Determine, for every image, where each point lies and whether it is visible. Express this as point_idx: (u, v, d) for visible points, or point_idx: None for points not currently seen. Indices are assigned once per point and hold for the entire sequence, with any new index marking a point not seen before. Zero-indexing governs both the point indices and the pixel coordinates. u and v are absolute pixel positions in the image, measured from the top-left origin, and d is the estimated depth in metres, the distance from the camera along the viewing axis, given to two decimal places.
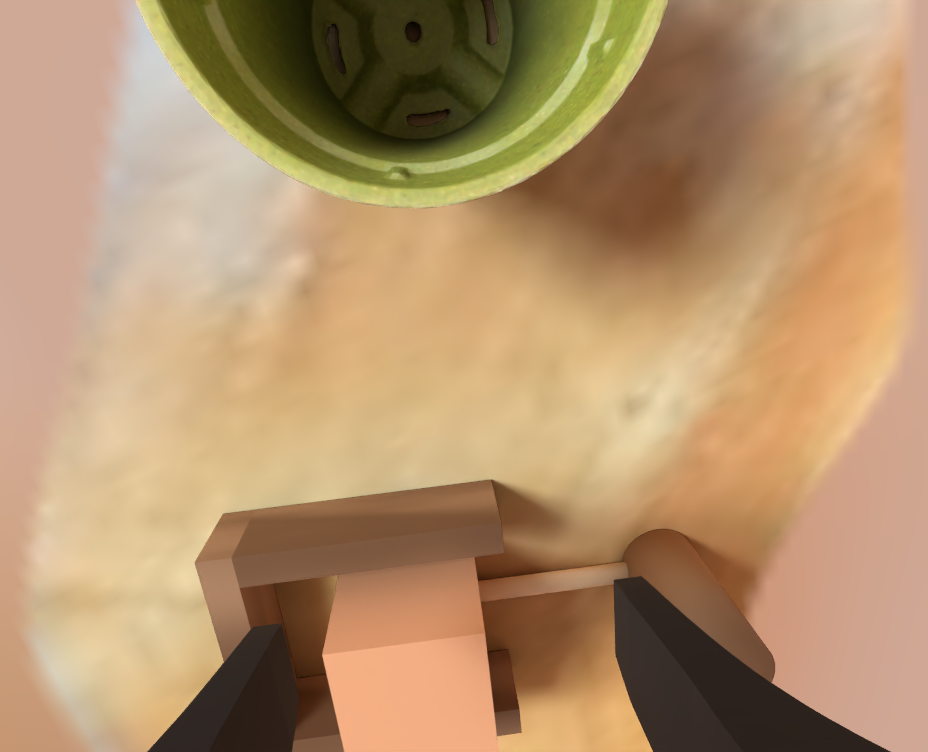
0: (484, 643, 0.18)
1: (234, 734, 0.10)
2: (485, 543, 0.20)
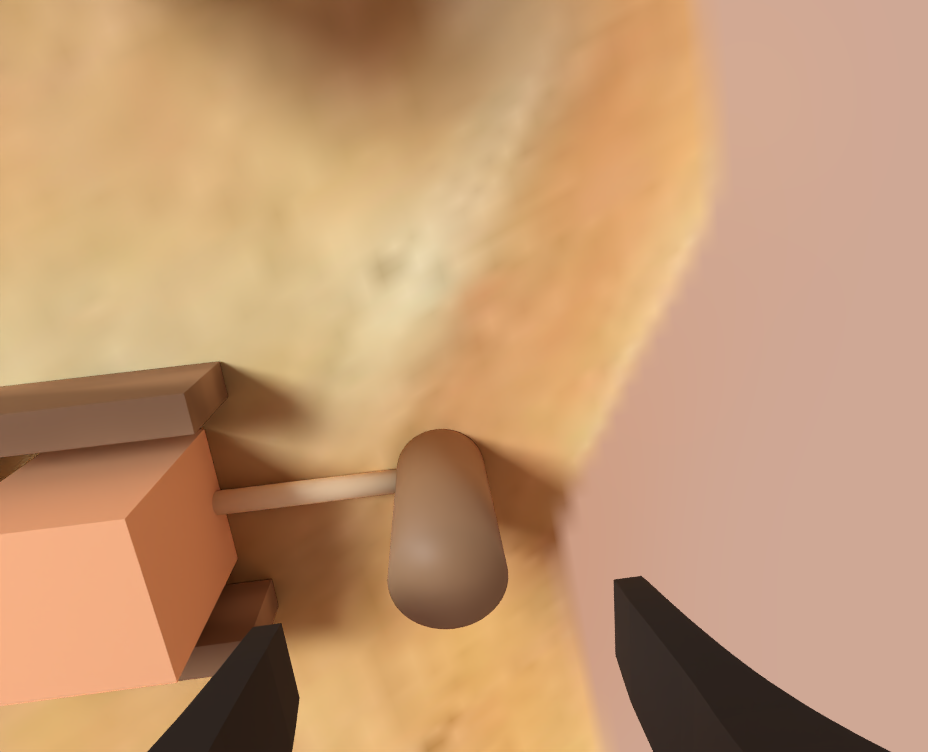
0: (127, 533, 0.14)
1: (234, 733, 0.10)
2: (167, 420, 0.16)
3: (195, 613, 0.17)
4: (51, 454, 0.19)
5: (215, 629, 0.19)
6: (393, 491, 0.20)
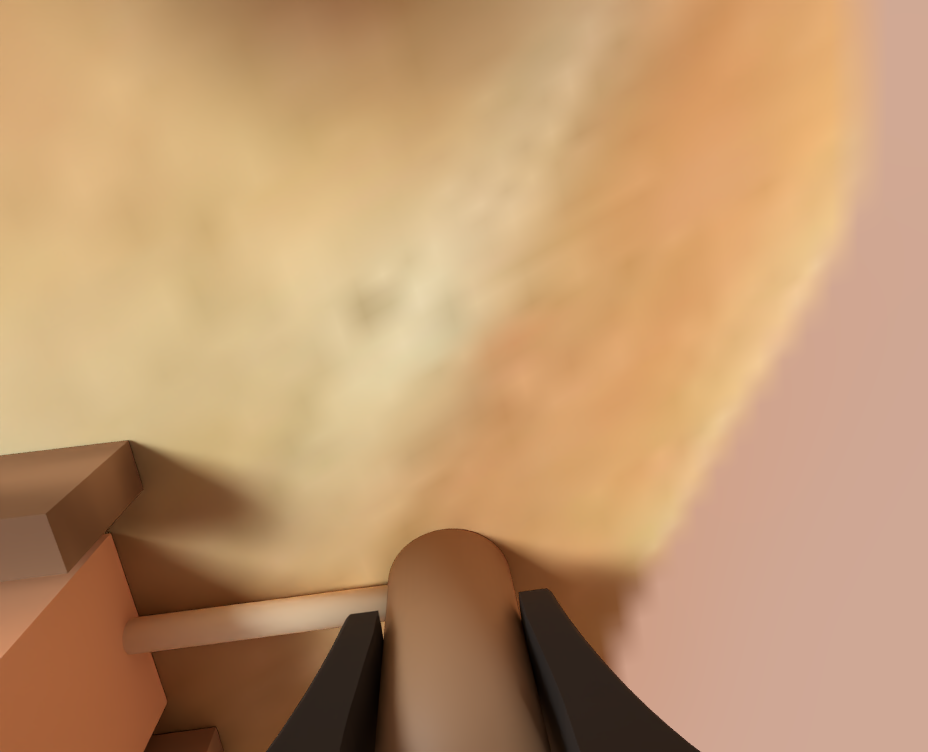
0: None
1: (357, 717, 0.10)
2: (23, 554, 0.10)
3: None
4: None
5: None
6: (382, 619, 0.14)
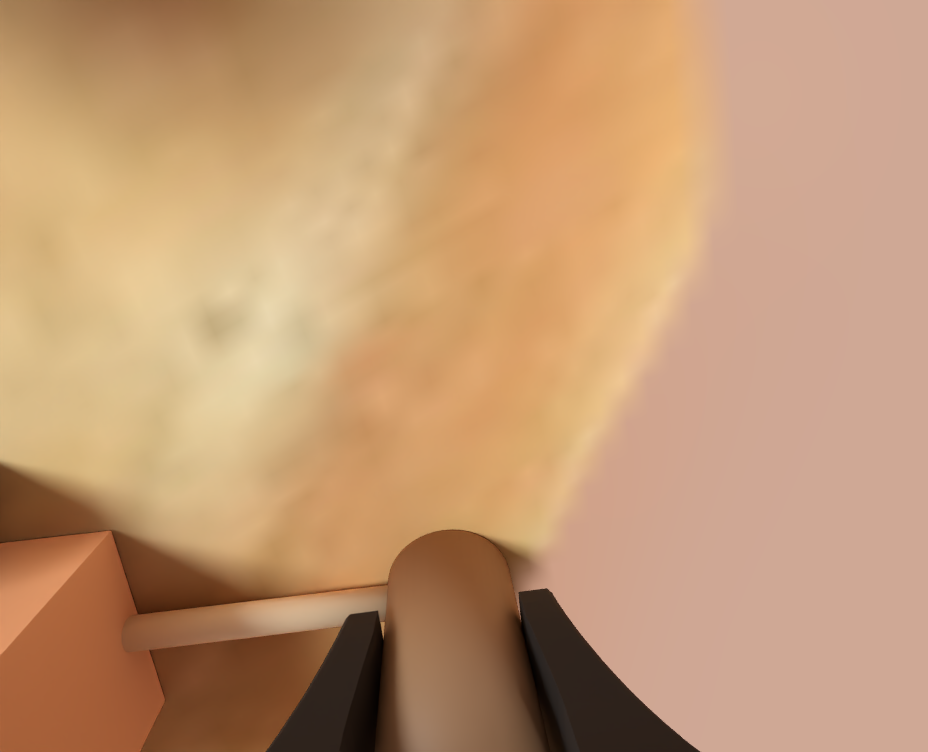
0: None
1: (356, 717, 0.10)
2: None
3: None
4: None
5: None
6: (382, 620, 0.14)
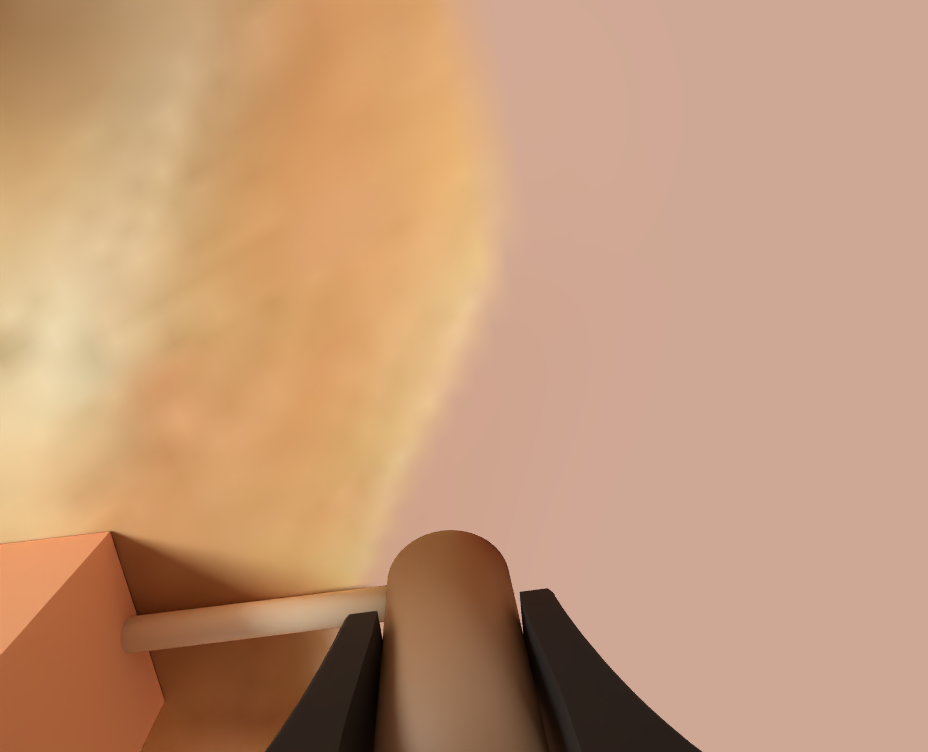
0: None
1: (356, 717, 0.10)
2: None
3: None
4: None
5: None
6: (381, 620, 0.14)
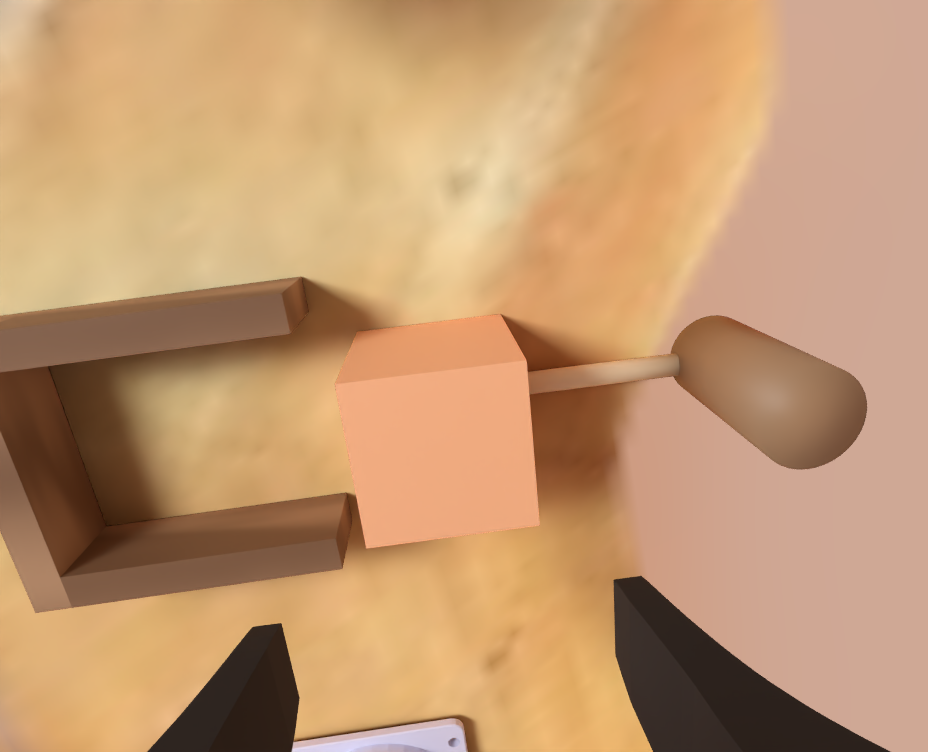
0: (525, 374, 0.16)
1: (234, 734, 0.10)
2: (266, 320, 0.17)
3: None
4: (368, 334, 0.20)
5: (301, 532, 0.20)
6: (675, 373, 0.21)
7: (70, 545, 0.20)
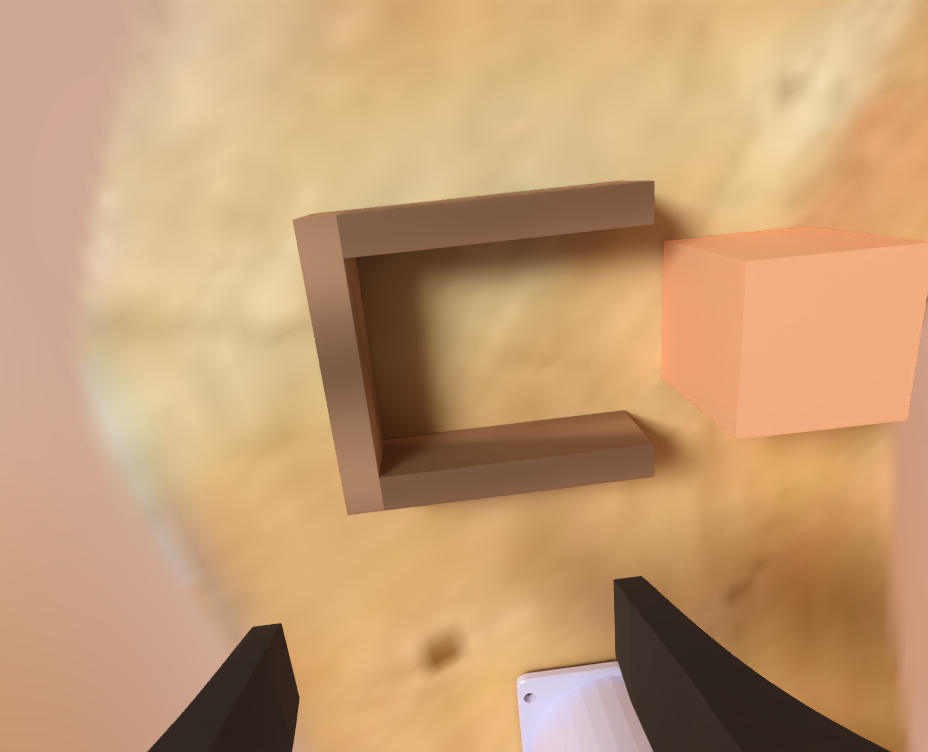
0: None
1: (234, 734, 0.10)
2: (633, 209, 0.17)
3: None
4: (684, 241, 0.20)
5: (609, 439, 0.20)
6: None
7: (378, 449, 0.20)
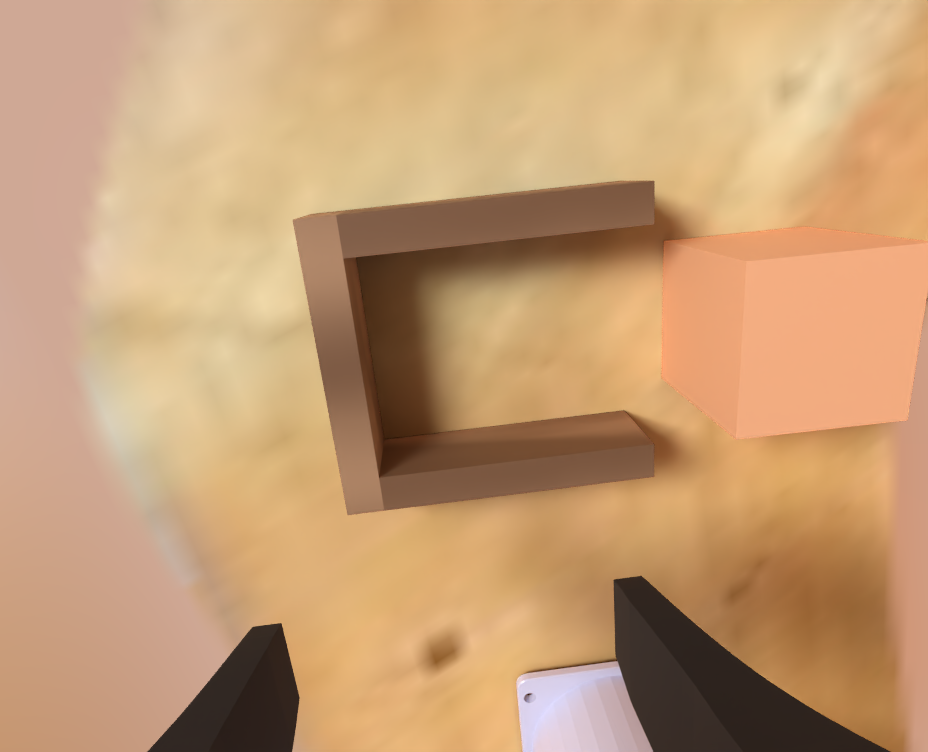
0: None
1: (234, 734, 0.10)
2: (633, 209, 0.17)
3: None
4: (684, 241, 0.20)
5: (609, 439, 0.20)
6: None
7: (378, 449, 0.20)
